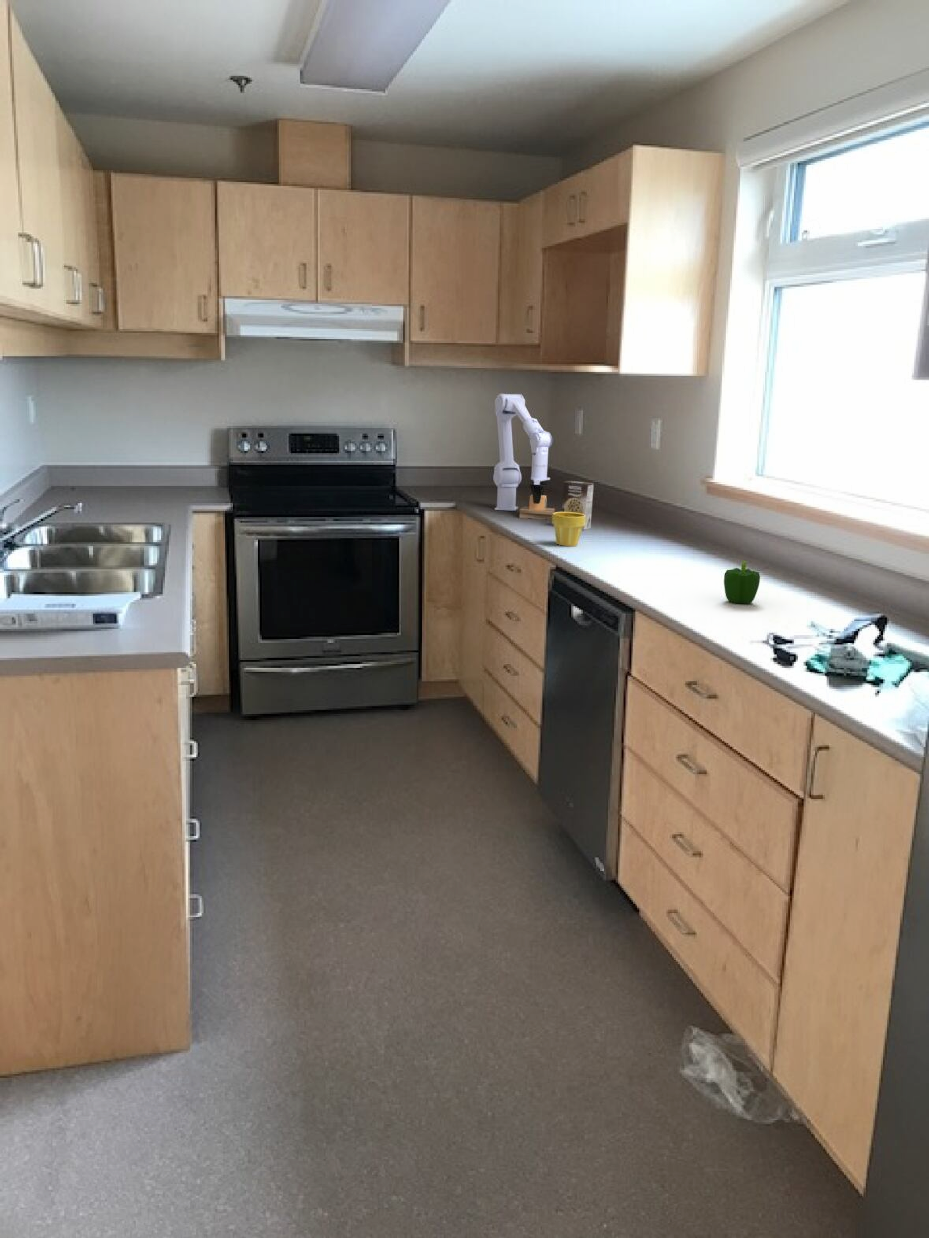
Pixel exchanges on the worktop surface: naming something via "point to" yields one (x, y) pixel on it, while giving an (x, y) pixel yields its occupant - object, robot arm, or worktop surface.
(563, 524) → the plant pot
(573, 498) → the brown cookie box
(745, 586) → the bell pepper
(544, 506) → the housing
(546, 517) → the stand
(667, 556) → the worktop surface
